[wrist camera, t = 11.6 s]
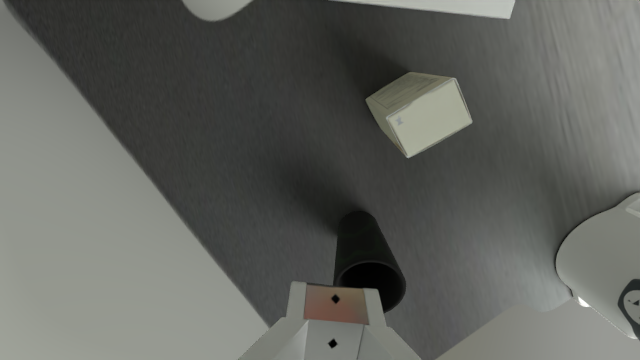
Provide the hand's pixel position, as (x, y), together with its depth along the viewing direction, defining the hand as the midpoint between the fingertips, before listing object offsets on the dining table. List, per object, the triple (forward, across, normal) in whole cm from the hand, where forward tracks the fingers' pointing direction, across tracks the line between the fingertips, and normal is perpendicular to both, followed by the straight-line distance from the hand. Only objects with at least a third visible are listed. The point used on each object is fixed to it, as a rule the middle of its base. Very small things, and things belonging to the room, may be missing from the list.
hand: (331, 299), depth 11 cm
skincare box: (+29, -8, -4) cm, 30 cm away
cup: (+29, -6, +14) cm, 33 cm away
